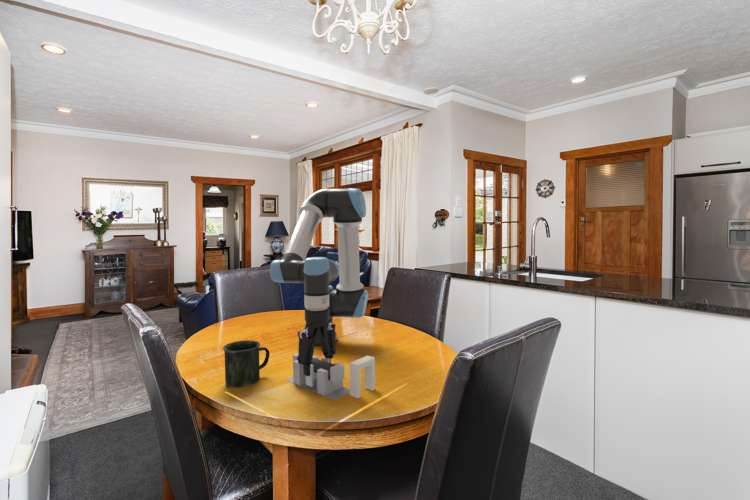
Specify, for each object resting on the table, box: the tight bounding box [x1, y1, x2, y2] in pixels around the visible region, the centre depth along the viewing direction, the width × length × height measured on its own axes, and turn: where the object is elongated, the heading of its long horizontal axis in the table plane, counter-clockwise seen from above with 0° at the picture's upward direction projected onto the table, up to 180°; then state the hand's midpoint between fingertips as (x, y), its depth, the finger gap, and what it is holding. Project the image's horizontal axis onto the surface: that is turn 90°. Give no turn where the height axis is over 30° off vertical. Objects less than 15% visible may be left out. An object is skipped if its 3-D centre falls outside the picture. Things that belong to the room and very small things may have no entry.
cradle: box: [285, 354, 350, 401], centre depth 120 cm, size 22×8×8 cm, turn 51°
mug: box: [222, 339, 270, 388], centre depth 124 cm, size 11×15×12 cm
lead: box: [292, 352, 346, 383], centre depth 119 cm, size 19×4×4 cm, turn 51°
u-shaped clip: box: [349, 355, 376, 399], centre depth 115 cm, size 3×8×10 cm, turn 141°
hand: (317, 381), depth 120 cm, fingers open, 6 cm apart
